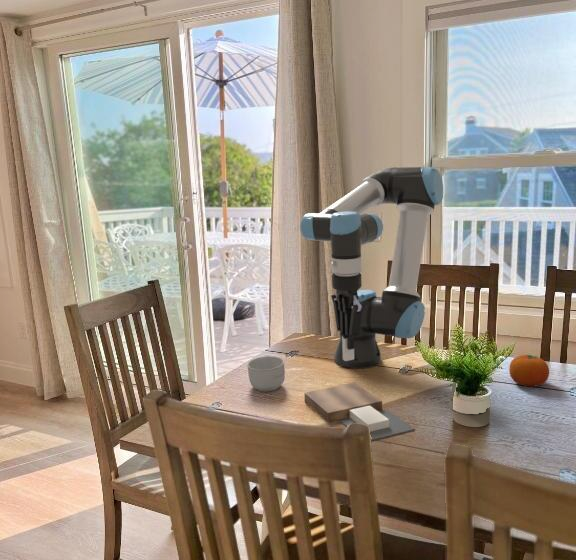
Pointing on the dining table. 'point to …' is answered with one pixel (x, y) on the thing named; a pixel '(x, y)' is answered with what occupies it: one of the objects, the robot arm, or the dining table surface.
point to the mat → (394, 427)
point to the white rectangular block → (369, 418)
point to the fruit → (529, 370)
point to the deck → (341, 401)
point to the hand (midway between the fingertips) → (348, 359)
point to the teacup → (266, 373)
